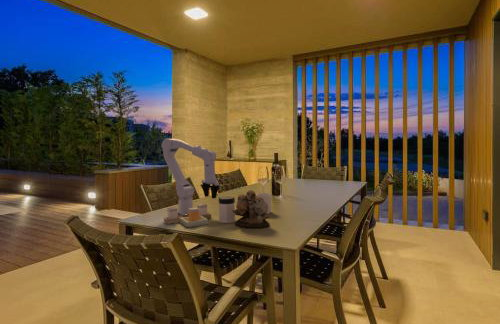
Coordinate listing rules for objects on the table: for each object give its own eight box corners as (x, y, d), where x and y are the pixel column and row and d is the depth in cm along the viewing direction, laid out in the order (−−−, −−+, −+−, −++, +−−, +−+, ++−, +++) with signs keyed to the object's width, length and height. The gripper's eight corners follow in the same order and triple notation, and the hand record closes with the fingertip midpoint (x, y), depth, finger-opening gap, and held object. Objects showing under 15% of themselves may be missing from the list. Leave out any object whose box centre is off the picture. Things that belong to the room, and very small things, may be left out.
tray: (180, 222, 155) (180, 217, 155) (200, 219, 160) (200, 215, 160) (187, 227, 146) (186, 222, 145) (208, 224, 151) (208, 219, 151)
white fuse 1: (167, 221, 158) (167, 208, 157) (175, 220, 160) (175, 207, 159) (170, 223, 154) (169, 209, 154) (177, 222, 156) (177, 208, 156)
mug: (272, 211, 177) (271, 193, 177) (270, 214, 169) (269, 195, 169) (251, 210, 180) (250, 192, 179) (248, 213, 172) (248, 195, 171)
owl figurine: (229, 228, 144) (228, 191, 143) (236, 222, 155) (235, 188, 154) (267, 229, 140) (266, 192, 139) (271, 223, 151) (271, 188, 150)
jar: (215, 221, 155) (214, 198, 155) (224, 218, 162) (223, 195, 162) (230, 223, 151) (229, 199, 150) (238, 220, 158) (238, 196, 157)
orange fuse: (188, 222, 154) (188, 208, 153) (196, 221, 155) (196, 207, 155) (191, 224, 150) (190, 209, 150) (199, 222, 152) (198, 208, 152)
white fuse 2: (197, 217, 166) (197, 204, 165) (204, 216, 168) (204, 203, 167) (200, 219, 162) (199, 205, 162) (207, 218, 164) (207, 204, 164)
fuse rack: (163, 221, 158) (163, 217, 158) (206, 215, 170) (206, 211, 170) (167, 224, 152) (167, 220, 152) (211, 218, 164) (211, 214, 163)
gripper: (196, 172, 172) (197, 196, 173) (210, 174, 161) (211, 199, 162) (207, 171, 177) (208, 195, 177) (221, 173, 165) (222, 198, 166)
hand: (210, 197), depth 170 cm, fingers open, 7 cm apart
